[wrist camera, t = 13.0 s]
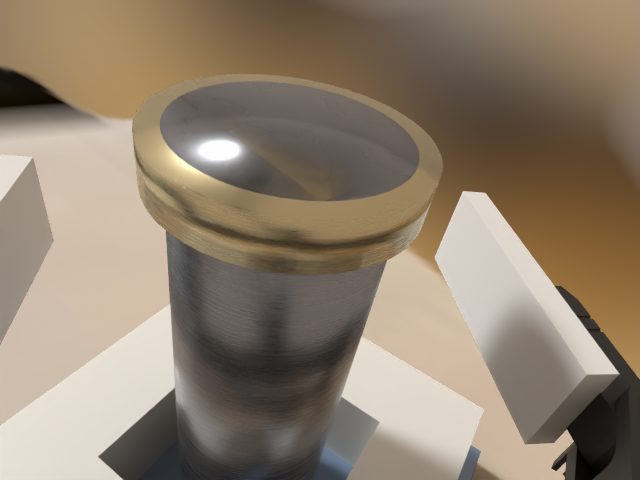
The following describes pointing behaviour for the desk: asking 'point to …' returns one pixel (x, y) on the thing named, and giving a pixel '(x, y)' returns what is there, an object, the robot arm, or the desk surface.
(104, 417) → the socket block
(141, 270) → the desk surface
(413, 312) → the desk surface
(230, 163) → the grey metal peg
